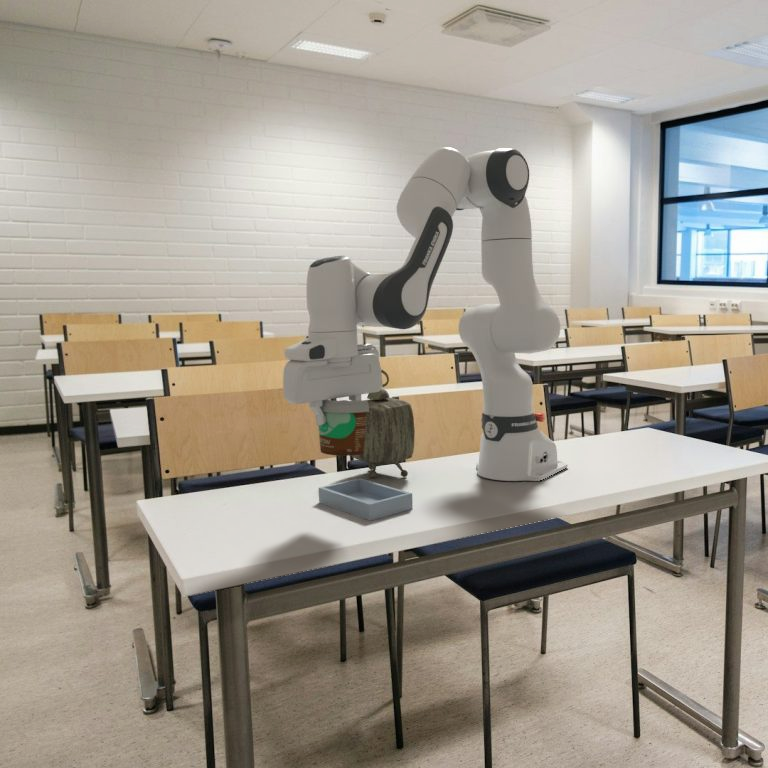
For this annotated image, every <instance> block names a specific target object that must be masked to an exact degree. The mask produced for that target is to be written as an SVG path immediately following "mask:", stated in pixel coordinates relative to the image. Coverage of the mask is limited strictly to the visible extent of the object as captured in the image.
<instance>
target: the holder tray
mask: <svg viewBox="0 0 768 768" xmlns="http://www.w3.org/2000/svg"><path fill="white" fill-rule="evenodd" d="M318 502H319V503H320V504H322V505H325V506H327V505H328V507H331V508H334V509H336V510H339V511H342V512H345V513H347V514H351V515H352V516H355V517H359V518H361V519H363V520H367V521H370V522H371V521H374V520H378V519H383V518H386V517H390V516H393V515H395V514H398V513H403V512H406V511H409V510H413V507H414V506H413V492H410V491H406V490H402V489H398V488H395V487H392V486H388V485H385V484H382V483H378V482H374V481H371V480H369V479H368V480H367V479H365V478H360V477H359V478H354V479H351V480H346V481H341V482H336V483H332V484H328V485H323V486H320V487H318Z"/></svg>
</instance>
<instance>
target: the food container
mask: <svg viewBox="0 0 768 768" xmlns="http://www.w3.org/2000/svg"><path fill="white" fill-rule="evenodd" d="M367 400H368V399H364V400H362V399H361V401H351V400H346V399H345V400H343V399H342V400H333V399H328V400H322V406H321V407H320V409H321V410H322V412H323V414H324V415H327V424H325V425H317V426H318V437H319V446H320V447H319V448H320V449H319V450H320V453H322V454H324V455H329V456H340V457H341V456H343V457H345V456H350V455H361V454H364V443H365V429H366V416H367V412H369V405H368V404H367ZM350 457H351V456H350Z"/></svg>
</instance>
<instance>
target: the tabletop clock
mask: <svg viewBox="0 0 768 768" xmlns="http://www.w3.org/2000/svg"><path fill="white" fill-rule="evenodd" d="M381 373H382V375H384V376H385V378H386V382H385V383H383V386H382V388H381V390H380V391H379V392H374V393H368V395H367V397H366V400H367V404H368V405H369V412H367V416H366V429H365V443H364V454H361V455H350V457H351V458H353V459H355V460H357V461H360V462H363V463H367V464H368V469H369V470H371V472H369V473H370V474H369V476H370V477H371V478H372V479H375V478H376V477H377V476H378V472H377V471H376V470H377V466H379V465H380V466H385V465H390V464H394V465H395V466H396V468H398V469H399V471H400V476H401V477H403V478H406V477H408V473H409V472H408V471H407V470H406V469H403V467H402V465H401V463H400V462H401V461H405V460H408V459H411V458H413V455H414V450H415V449H414V448H415V418H414V414H413V408H412V405H411V404H410V403H409V402H407V401H406V400H403V399H399V398H393V397H390V395H389V392H388V391H387V390H386V389H384V387H387V385H388V384H389V382H390V377H389V374H387V371H385V370H383V369H381Z"/></svg>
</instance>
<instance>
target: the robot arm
mask: <svg viewBox="0 0 768 768" xmlns="http://www.w3.org/2000/svg"><path fill="white" fill-rule="evenodd" d="M529 182H530V168H529V165H528V162H527V160H526V158H525V157H524V155H523V154H522V153H521V152H520V150H517V149H515V148H509V147H508V148H504V147H503V148H502V147H501V148H497V149H495V150H485V151H481V152H480V151H479V152H476V153H475V152H474V153H473V154H471V155H468V156H465V155H464V154H463V153H462V152H461V151H459V150H457V149H455V148H452V147H448V146H447V147H439V148H437V149H435V150H433V151H432V152H431V153H430V154H429V155H428V156H427V157H426V158H425V159H424V160H423V161H422V162H421V164H420V165H419V166H418V167H417V169H416V170H415V171H414V173H413V174H412V175H411V177H410V179H409V180H408V181H407V183H406V185H405V186H404V188H403V190H402V192H401V193H400V195H399V198H398V200H397V204H396V214H397V215H396V216H397V218H398V220H399V222H400V224H401V226H402V227H403V229H404V230H405V231H406V232H407V233H408V234H410V235H411V236H412V237H413V238H414V241H413V242H412V246H411V248H410V250H409V252H408V255H407V257H406V259H405V262H404V263H403V265H401V267H399V268H398V269H396V270H393V271H391V272H388V273H380V274H379V273H377V274H373V273H372V274H371V272H368V271H366V270H364V269H362V268H360V267H359V266H357V265H356V264H355V263H354V262H353V261H352V260H351V258H350V257H349V256H347V255H337V256H331V257H325V258H320V259H316V260H315V261H314V262H311V264H310V265H309V267H308V269H307V276H306V308H307V312H308V316H309V325H308V330H307V332H308V335H307V336H308V337H307V338H304V339H302V340H301V341H298V342H296V343H295V344H292V345H290V346H287V347H286V348H285V350H284V358H285V359H286V360H289V361H287V362H286V363H285V365H284V369H283V375H282V377H283V378H282V386H283V387H282V389H283V398H284V400H285V401H286V402H287V403H289V404H294V405H300V404H306V403H307V404H309V408H310V409H311V412H313V414H314V416H315V424H316V425H317V426H318V425H325V424H327V415H324V414H323V412H322V410H321V409H320V407H321V406H322V400H334V399H342V398H346V397H348V401H362V395H367V394H369V393H374V392H379V391H380V390H381V389H383V387H382V386H383V384H384V383H383V376H382V375H383V373H381V370H382V368H381V363H380V357H379V356H380V353H379V349H378V348H377V347H376V346H375V345H373V344H372V343H366V344H359V343H358V327H357V326H361V327H362V326H363V327H364V326H365V327H382V328H383V327H385V328H392V329H396V330H397V329H398V330H408V329H412V328H413V327H415V326H416V325H418V324H419V322H420V321H421V320H422V318H423V317H424V316H425V313H426V311H427V308H428V303H429V298H430V293H431V289H432V287H433V283H434V280H435V278H436V276H437V273H438V271H439V268H440V266H441V263H442V261H443V258H444V256H445V254H446V251H447V248H448V246H449V243H450V241H451V238H452V234H453V229H454V221H453V216H454V215H455V212H456V211H463V210H473V209H479V211H480V213H481V217H482V218H481V219H482V221H481V234H480V235H481V237H480V238H481V239H480V240H481V241H480V242H481V275H482V277H483V279H484V281H485V282H486V283H487V284H489V285H491V286H492V287H493V288H494V290H495V292H496V294H497V298H498V302H499V303H486V304H485V303H483V304H481V305H477V306H474V307H471V308H470V307H469V308H467V310H465V311H464V312H463V313H462V314H461V317H460V318H459V319H460V320H459V323H458V334H459V337H460V340H461V341H462V343H463V344H464V345H465V346H466V347H467V348H468V349H469V350H470V351H471V354H472V355H473V357H474V358H475V361H476V364H477V367H478V370H479V372H480V377H481V383H482V396H483V397H482V399H483V412H482V413H481V419H480V421H481V422H480V423H481V429H482V430H483V431H482V434H481V436H480V443H479V444H480V445H479V455H478V462H476V466H475V467H476V469H477V470H476V474H477V475H478V476H479V477H481V478H484V479H489V480H495V481H504V482H505V481H506V482H509V481H510V482H518V481H519V482H520V481H521V482H522V481H529V482H530V481H531V482H541V481H540V480H542V481H544V480H546V479H548V478H550V477H552V476H554V475H553V474H555V473H557V472H559V471H561V470H563V469H565V468H567V467H569V466H568V463H566V462H563V461H561V460H558V449H557V446H556V443H555V442H554V441H553V440H552V439H550V437H548V436H547V435H546V434H544V432H543V431H541V430H540V429H539V424H538V422H539V423H543V422H545V419H546V417H545V416H546V415H545V413H541V412H535V413H534V412H533V405H534V403H533V381H532V378H531V375H530V374H528V373H527V372H526V371H525V370H524V369H523V368H521V366H520V364H519V363H518V359H517V357H516V354H529V355H530V354H536V353H541V352H545V351H549V350H551V349H552V348H553V347H554V346H555V345H556V343H557V342H558V339H559V338H560V333H561V323H560V319H559V316H558V314H557V313H556V311H555V310H554V309H553V308H552V307H550V305H548V304H547V303H546V301H545V300H544V298H543V297H542V295H541V293H540V290H539V289H538V287H537V284H536V279H535V275H534V266H533V248H532V247H533V246H532V244H533V241H532V239H533V238H532V237H533V236H532V235H533V233H532V222H531V214H530V208H529V204H528V199H527V197H526V193H527V190H528V186H529ZM567 469H568V468H567ZM565 470H566V469H565ZM563 471H564V470H563ZM561 472H562V471H561ZM559 473H560V472H559ZM557 474H558V473H557ZM551 475H552V476H551ZM555 475H556V474H555ZM549 476H550V477H549ZM547 477H548V478H547ZM545 478H546V479H545ZM543 479H544V480H543Z"/></svg>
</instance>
